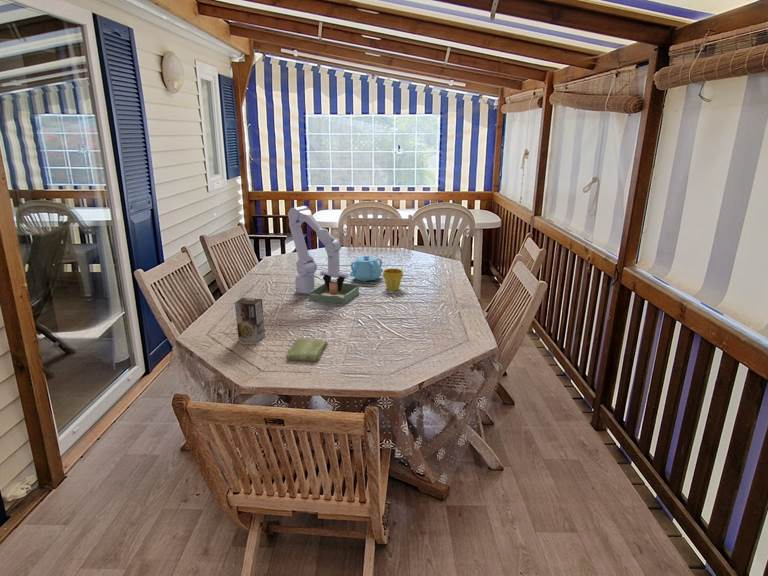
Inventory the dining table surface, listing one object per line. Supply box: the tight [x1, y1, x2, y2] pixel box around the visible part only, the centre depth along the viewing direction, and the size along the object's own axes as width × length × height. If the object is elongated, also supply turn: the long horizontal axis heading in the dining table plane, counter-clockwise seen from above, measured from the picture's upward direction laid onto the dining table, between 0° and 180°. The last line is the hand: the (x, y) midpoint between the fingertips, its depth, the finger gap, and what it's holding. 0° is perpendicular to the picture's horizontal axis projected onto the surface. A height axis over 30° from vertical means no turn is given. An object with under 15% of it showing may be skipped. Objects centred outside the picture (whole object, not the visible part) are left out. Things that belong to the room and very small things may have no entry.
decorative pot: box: [349, 254, 384, 283], centre depth 283 cm, size 16×16×14 cm
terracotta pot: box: [329, 279, 340, 295], centre depth 253 cm, size 5×5×6 cm
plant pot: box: [382, 268, 404, 291], centre depth 266 cm, size 10×10×10 cm
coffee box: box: [234, 297, 266, 342], centre depth 202 cm, size 9×6×16 cm
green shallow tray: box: [309, 282, 360, 305], centre depth 254 cm, size 19×17×5 cm
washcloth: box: [285, 337, 328, 363], centre depth 191 cm, size 13×18×3 cm
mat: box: [304, 300, 337, 312], centre depth 241 cm, size 12×10×1 cm
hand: (334, 290), depth 253 cm, fingers closed on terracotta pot, 5 cm apart
